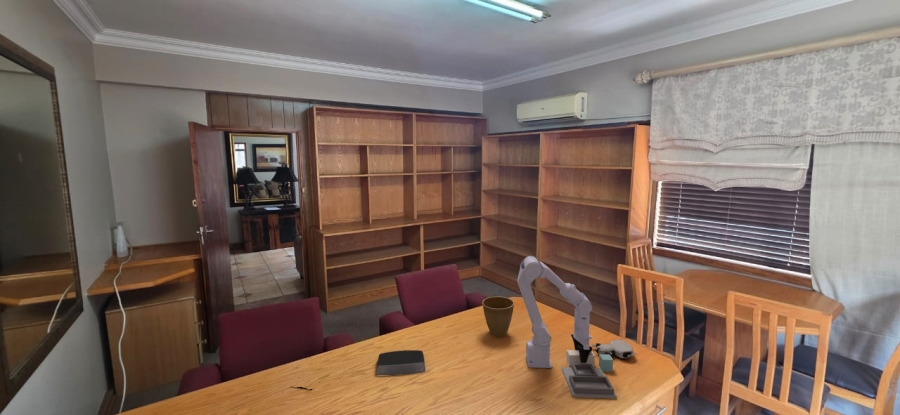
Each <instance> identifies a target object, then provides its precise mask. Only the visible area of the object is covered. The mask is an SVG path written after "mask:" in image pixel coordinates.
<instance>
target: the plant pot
mask: <svg viewBox="0 0 900 415" xmlns="http://www.w3.org/2000/svg"><path fill="white" fill-rule="evenodd" d="M514 307H515V302H514V300H512V299H511V298H509V297H505V296H491V297H487V298H485V299H483V300H482V309H483V313H484V315H483V316H484V318H485V321H486V325H487V328H488V331H489V333H490V335H491V336H492V337H494V338H499V339H500V338H504V337H505V336H506V335H507V334H508V331H509V328H510V326H511V322H512V318H513V313H514ZM506 337H507V336H506Z"/></svg>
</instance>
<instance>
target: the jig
mask: <svg viewBox="0 0 900 415" xmlns="http://www.w3.org/2000/svg"><path fill="white" fill-rule="evenodd" d="M561 372H562V374H563V376H564V379H565V381H566V384H567V387H568V388H569V391H570V394H571V396H572V398H583V399H584V398H589V399H613V400H614V399H618V396H617V394H616V392H615V389H614V388H615V387H613V385H612V383H611V382H610V379H609V378H608V377H607V376H606V375H605V374H604V373H605V372H602V370H601V368H600V367H593V366H592V364H575V363H572V366H567V367H566V366H565V367H564V366H561Z"/></svg>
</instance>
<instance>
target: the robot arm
mask: <svg viewBox="0 0 900 415" xmlns="http://www.w3.org/2000/svg"><path fill="white" fill-rule="evenodd" d="M538 277H539V279H547V280H548V281H549V282H551V283H552V284H553V285H554V286H556V287H557V288H558V289H559V293H560V295H561V296H562V297H563V298H565V300H566V301H567V302H569V303H570V304H571V305H572V306H574V319H573V320H574V323H573V333H571V334H570V336H571V338H572V342H573V346H574V350H579V355H580V361H581V363H586V362H587V359H588V356H589V354H590V352H591V351H592V352H593V346H592V345H591V346H590V340H592V339H593V336H592V335H591V334H590V322H591V320H590V318H591V316H590V313H591V312H592V310H593V306H592V303H591V301H590V300H589V298H588V297H587V296H586V295H585V294H584V293H583V292H580V291H579V290H578V289H577V287H576V285H575V284H574V283H573V284H571V283H570V282H564V281H563V280H562V279H561V278H560V277H559V276H558V275H557V274H556V273H555V272H554V271H553V270H552V269H551V268H549V267H548V266H547V265H546V264H544V262H542V261H541V260H538V259H537V258H536V256H533V255H528V256H526V257H525V258H524V259H523V260H522V261H521V263H520V266H519V271H518V276H517V280H516V282H517V285H518V288H519V290H520V294H521V297H522V299H523V302H524V305H525V309H526V311H527V313H528V317H529V319H530V323H531V332H532V334H533V336H532V339H531V340H529V341H526V342H525V343H526V344H525V359H526V364H527V367H528V368H536V369H537V368H542V369H543V368H544V369H547V368H548V369H552V368H553V365H552V362H551V360H550V359H551V357H550V355H551V341H552V337H551V335H550V332H549V330H548V326H547V325H546V324H545V323H544V322H543V321H544V320H543V319H542V315H541V313H540V309H539V307H538V304H537V301H536V298H535V295H534V293H533V289H532V287H531V285H532V283H533V282H534V280H536V279H537V278H538Z"/></svg>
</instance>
